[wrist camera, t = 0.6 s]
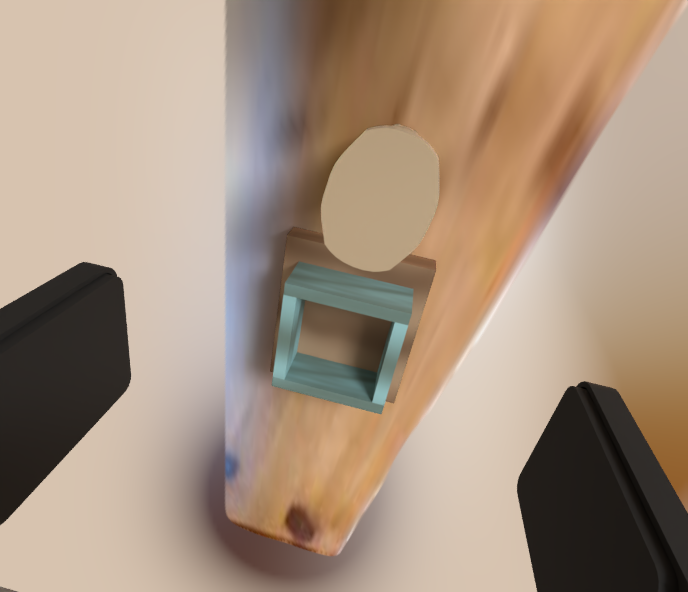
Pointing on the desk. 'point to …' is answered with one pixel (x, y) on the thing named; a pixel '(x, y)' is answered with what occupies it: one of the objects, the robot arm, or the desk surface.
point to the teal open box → (345, 324)
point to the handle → (380, 198)
